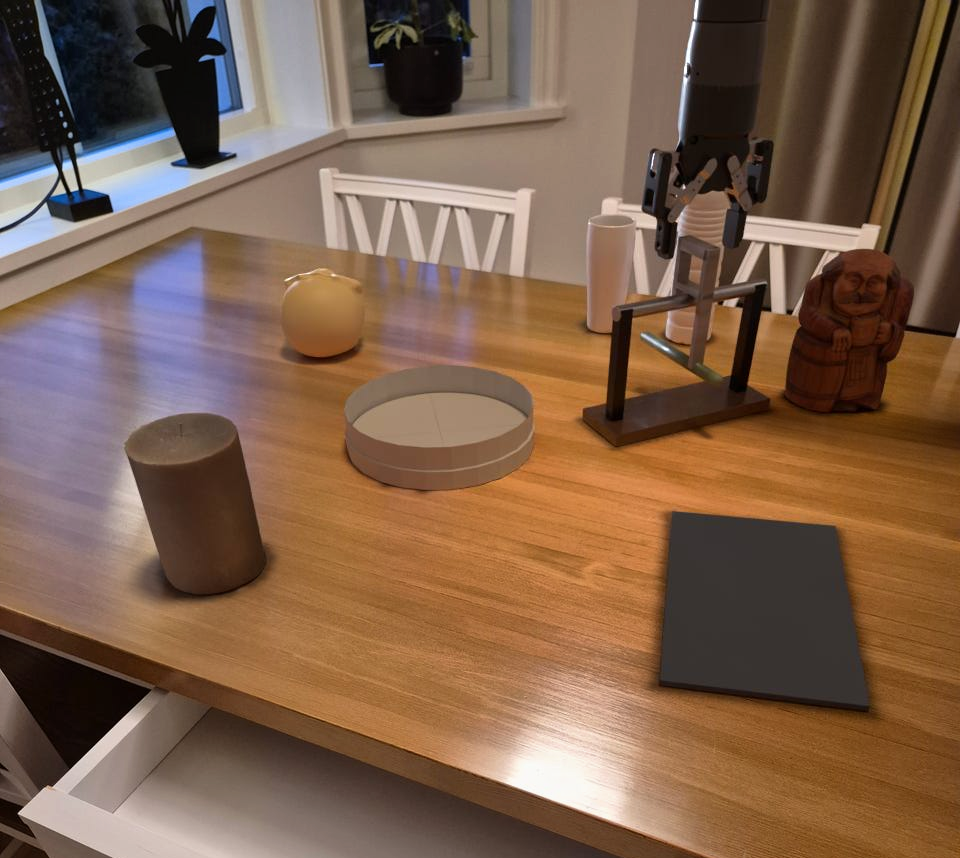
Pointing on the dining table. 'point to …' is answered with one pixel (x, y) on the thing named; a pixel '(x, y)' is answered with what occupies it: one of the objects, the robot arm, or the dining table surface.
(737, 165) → the robot arm
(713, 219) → the water bottle
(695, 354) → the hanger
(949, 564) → the dining table surface
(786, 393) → the wooden figurine
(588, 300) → the drinking glass
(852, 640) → the mat
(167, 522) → the pillar candle
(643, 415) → the rail stand
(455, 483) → the dish
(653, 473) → the dining table surface
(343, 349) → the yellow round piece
